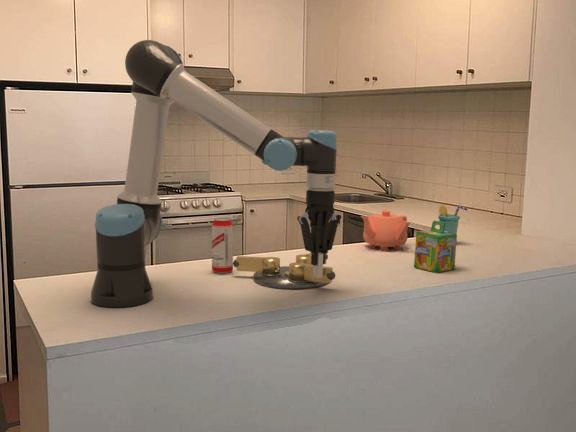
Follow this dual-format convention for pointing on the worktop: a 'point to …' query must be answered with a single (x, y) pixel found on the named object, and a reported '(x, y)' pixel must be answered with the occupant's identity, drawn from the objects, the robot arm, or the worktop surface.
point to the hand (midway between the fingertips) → (317, 276)
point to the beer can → (222, 245)
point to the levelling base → (284, 281)
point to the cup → (449, 219)
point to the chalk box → (435, 249)
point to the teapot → (385, 230)
